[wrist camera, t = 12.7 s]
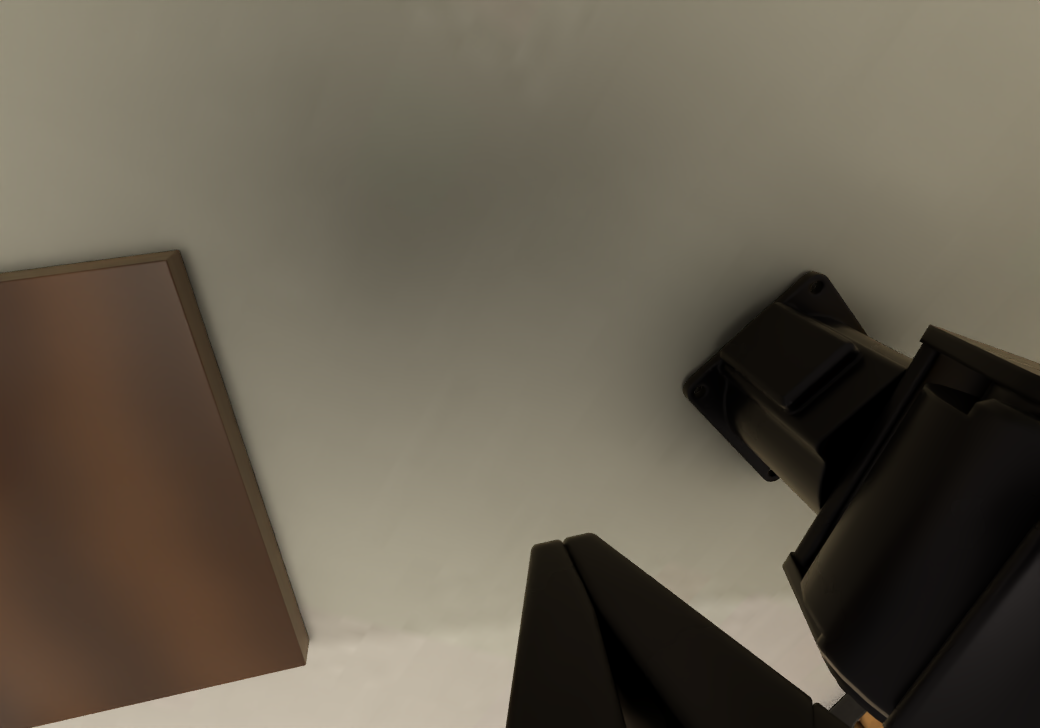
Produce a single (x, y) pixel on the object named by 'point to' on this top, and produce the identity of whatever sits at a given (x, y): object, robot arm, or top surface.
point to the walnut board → (125, 500)
